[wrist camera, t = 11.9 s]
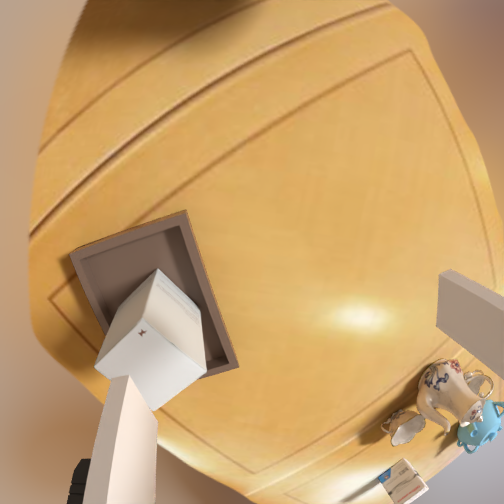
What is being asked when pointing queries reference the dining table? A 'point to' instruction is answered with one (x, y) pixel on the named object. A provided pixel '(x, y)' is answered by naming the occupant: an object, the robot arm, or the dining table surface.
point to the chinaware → (441, 400)
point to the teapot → (481, 427)
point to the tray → (142, 266)
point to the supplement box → (155, 341)
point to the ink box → (403, 482)
